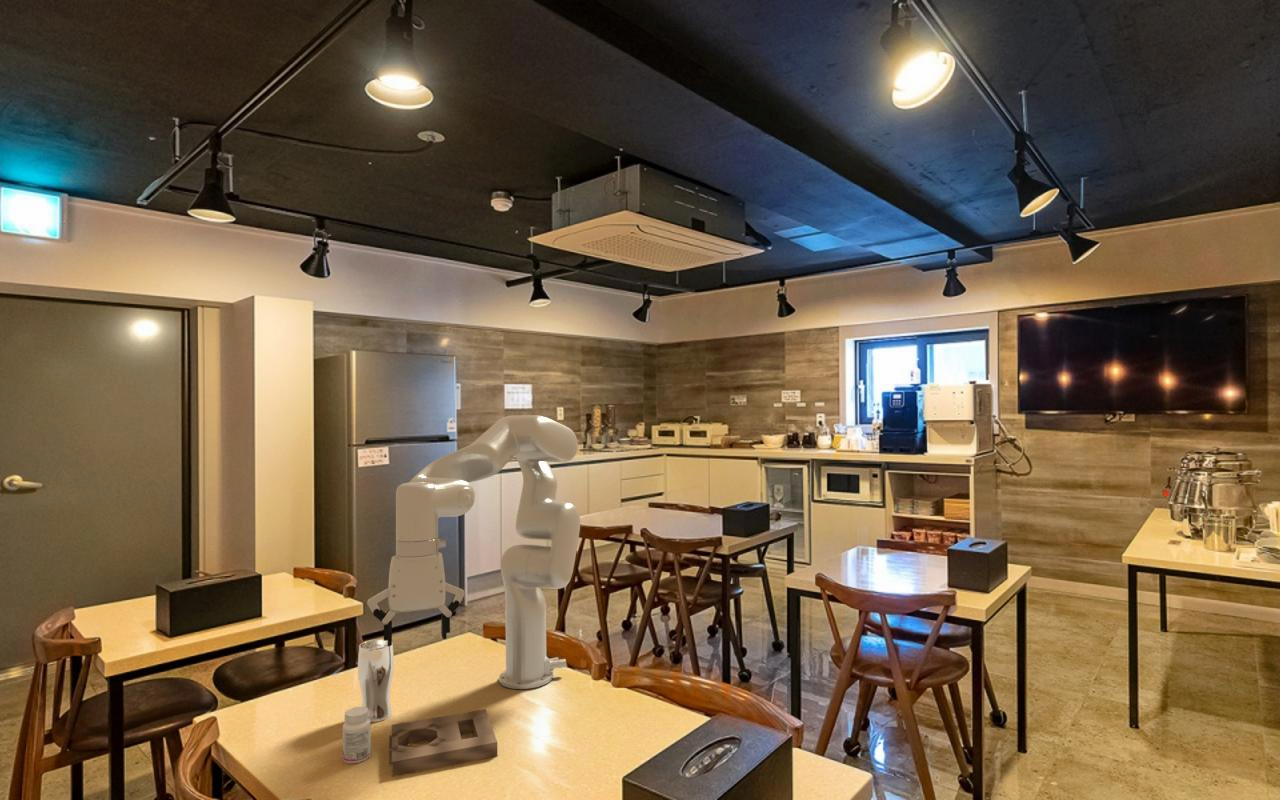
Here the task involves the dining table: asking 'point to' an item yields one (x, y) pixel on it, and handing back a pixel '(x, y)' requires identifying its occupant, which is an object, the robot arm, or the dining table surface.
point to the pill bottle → (356, 735)
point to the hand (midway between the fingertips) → (417, 640)
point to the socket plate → (441, 742)
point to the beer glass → (376, 677)
